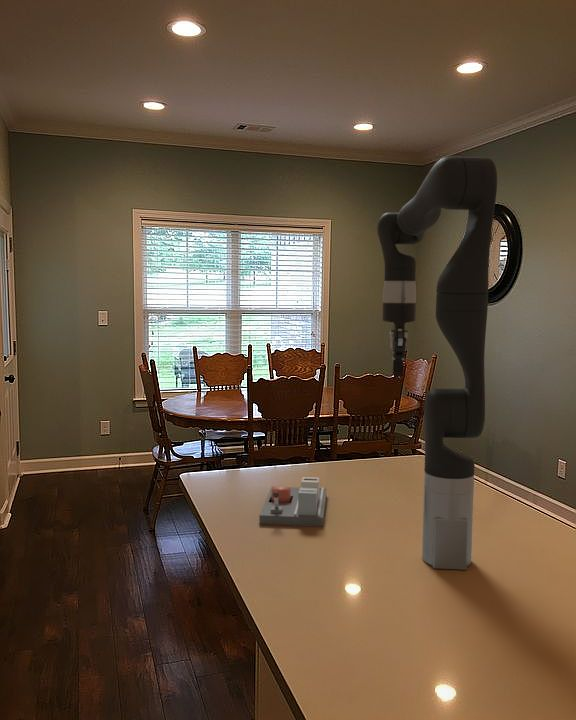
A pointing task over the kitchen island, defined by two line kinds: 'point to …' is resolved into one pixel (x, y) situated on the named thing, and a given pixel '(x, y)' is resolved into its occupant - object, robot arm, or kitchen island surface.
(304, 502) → the slate-blue fader knob
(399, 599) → the kitchen island surface
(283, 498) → the red push button
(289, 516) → the panel
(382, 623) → the kitchen island surface
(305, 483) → the cream fader knob
